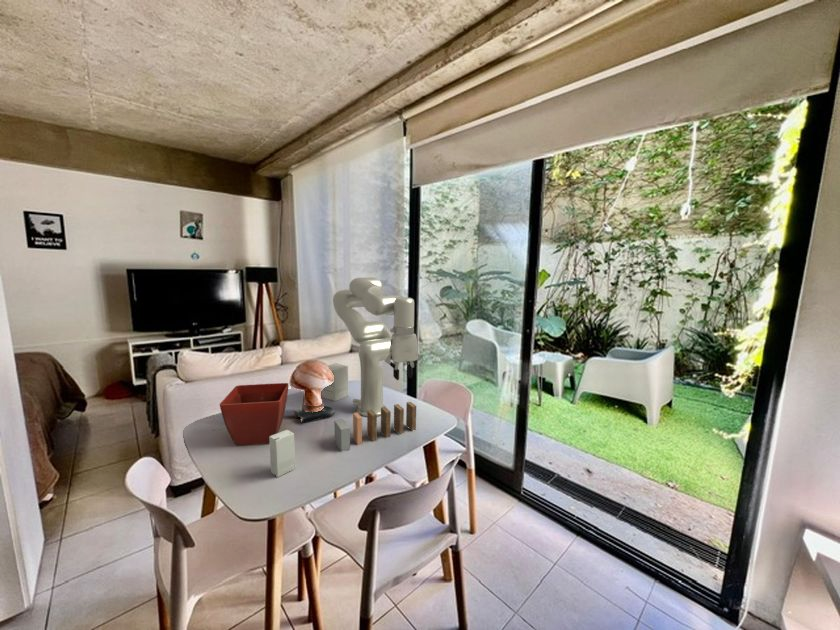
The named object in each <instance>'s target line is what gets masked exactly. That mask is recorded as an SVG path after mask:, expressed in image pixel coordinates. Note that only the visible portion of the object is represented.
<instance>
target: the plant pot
mask: <svg viewBox="0 0 840 630" xmlns="http://www.w3.org/2000/svg"><path fill="white" fill-rule="evenodd" d="M288 392H289V383H288V382H281V383H280V382H279V383H276V382H275V383H257V384H241V385H240V384H239V385H235V387H233V389H231V391H230V392H229V393H228V394H227V395H226V396H225V398H224V399H223V400H221V402H220V403H219V407H220V408H219V409H220V412H221V415H222V418H223V419H222V420H223V422H224V425H225V427H226V430H227V432H228V434H229V436H230V439H232V441H233V443H234V445H235V446H236V445H237V446H236V447H238V446H239V445H240V446H249V445H261V444H263V445H264V443H265V444H270V442H269V436H272V435H274V434H277V433H279V431H280V428H281V426H282V422H283V419H284V415H285V410H286V404H287V399H288Z"/></svg>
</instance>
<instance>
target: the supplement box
mask: <svg viewBox="0 0 840 630" xmlns="http://www.w3.org/2000/svg"><path fill="white" fill-rule="evenodd" d="M327 366H328V367H329V369H330V370H331V371H332V373H333V375H334V382H333V383H332V384H331V385H329V386H327V387H325V388H324V389H323V390H322V389H321V390H322V393H321V394H322V398H324V399H327V400H330V401H333V402H336V401H339V400H341V399H344V398H347V397H348V396H349V366H348V365H343V364H341V363H337V362H335V363H332V364H328V365H327Z"/></svg>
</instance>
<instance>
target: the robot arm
mask: <svg viewBox="0 0 840 630" xmlns="http://www.w3.org/2000/svg"><path fill="white" fill-rule="evenodd" d="M348 286H349V287H348V289H342V290H338V291H336V293H334V295H333V296H332V297H333V298H332V304H333V308H334V310H335V313H336V314H337V316H338V318H340V320H341V321H342V322H343V323H344V324H345V326H346V328H347V330H348V331H349V333H350V335H351V337H352V339H353V340H354V342H355V343H357V344H359V345H358V351H357V352H358V357H359V363H360V364H359V365H360V399H357V398H353V399H352V405H353V406H357V409H356V412H358V414H359V415H360V416H361V417H362V416H363V417H367V410H371V409H372V410H373V411H374V412H375V413H376V414H377V417H378V416H379V417H380V416H381V407H386V405H384V397H383V396H384V372H383V368H382V367H381V365H380V364H379V362H381V361H382V362H383V361H384V362H385V363H386V364H388V365H389V366H390V367H391V368H392V369H393V373H392V375H393V378H394V379H395V380H396V381H399V380H400V369H399V365H400V363H407V364H408V365H407V367H406V376H407V378H409V379H412V378H413V374H414V368H415V366H416V365H417V364H418V362H419V361H420V360H421V359H422V356H421V355H420V353H419V346H418V345H419V344H418V338H417V335H416V333H415V299H414V298H412V297H406V296H402V295H397V294H395V295H394V294H393V295H383V284H382V281H381V280H380V279H379V278H377V277H356V278H354V279H352V280H351V281H350V282H349V285H348ZM355 308H364V309H365V311H367V312H368V313H370V314H372V316H373V315H374V316H377V317H384V316H393V326H392V328H390V330H389V328H388V327H387V325H386V324H385V323H383V322H382V321H380V320H379V321H378V320H376V321H367V320H366V319H365V318H364V316H363V315H362V313H360V312H359V311H357V310H356V309H355ZM391 360H392V361H391ZM386 408H387V407H386Z"/></svg>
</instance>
